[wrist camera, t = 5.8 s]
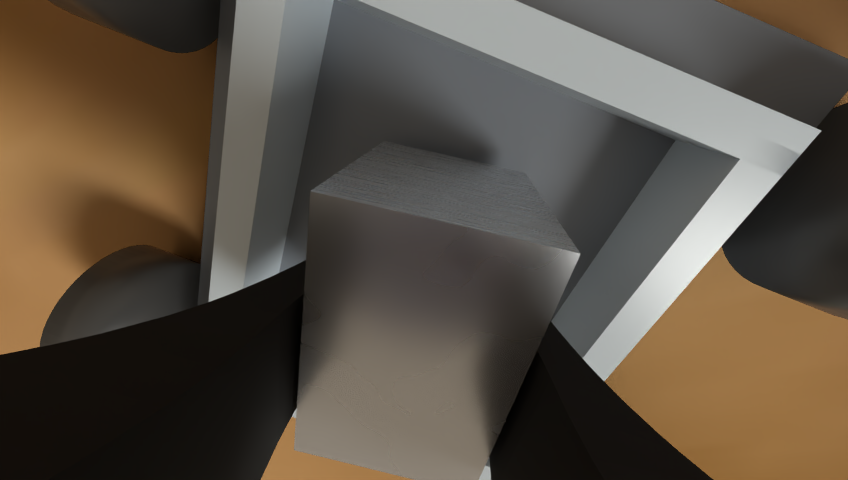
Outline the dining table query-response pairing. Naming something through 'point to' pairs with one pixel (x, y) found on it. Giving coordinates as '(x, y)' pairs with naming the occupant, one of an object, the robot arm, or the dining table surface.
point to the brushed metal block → (422, 310)
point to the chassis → (508, 144)
